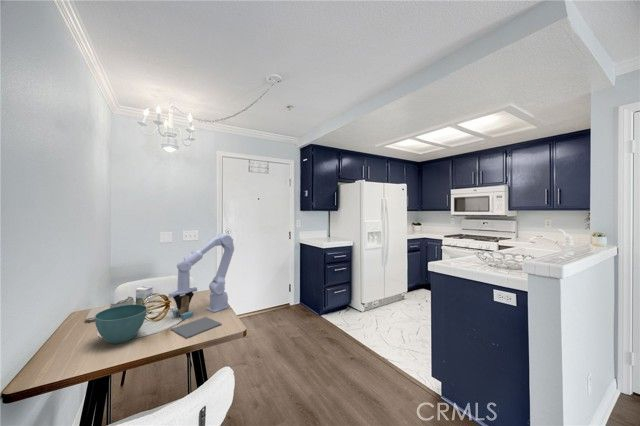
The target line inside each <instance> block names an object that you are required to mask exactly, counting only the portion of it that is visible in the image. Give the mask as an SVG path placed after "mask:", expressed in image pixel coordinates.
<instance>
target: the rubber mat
mask: <svg viewBox="0 0 640 426" xmlns="http://www.w3.org/2000/svg"><path fill="white" fill-rule="evenodd" d="M220 326H222V322H219V321H216V320H214V319H212V318H209V317H207V316H205V317H202V318H198V319H196V320H193V321H189V322H187V323H184V324H181V325H178V326H175V327H172V328H170V331H172V332H174V333H175V334H177V335H179V336H181V337H183V338H184V339H190V338H191V337H194V336H196V335H200V334H201V333H204V332H207V331H210V330H212V329H214V328H217V327H220Z"/></svg>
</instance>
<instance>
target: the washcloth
mask: <svg viewBox="0 0 640 426" xmlns="http://www.w3.org/2000/svg"><path fill="white" fill-rule="evenodd" d="M109 308H110V305H108V306H104V307H102V306H101V307H95V308H91V309H89V311H88V314H87V315H86V317H85V319H84V320H85V321H84V323H85V324H87V323H95V315H96V314H97V313H99V312H101V311H103V310H106V309H109Z"/></svg>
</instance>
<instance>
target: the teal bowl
mask: <svg viewBox="0 0 640 426" xmlns="http://www.w3.org/2000/svg"><path fill="white" fill-rule="evenodd" d="M146 312H147V307H146V306H144V305H137V304H136V303H133V304H132V305H123V306H117V307H112V308H109V309H106V310H103V311H101V312H99V313H97V314H96V315H95V322H94V323H95V327H96V330H97V332H98V334H99V335H100V337H102V338H103V339H104V340H105V341H106V342H107V343H108V344H109V343H110V344H112V345H116V344H117V345H118V344H123V343H125V342H129V341H130V340H132V339H133V338H134V337H135V336H136V335H137V333H138V332H139V331H140V330H141V328H142V326H143V324H144V322H145V319H146V316H147V315H146Z"/></svg>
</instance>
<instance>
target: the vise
mask: <svg viewBox="0 0 640 426" xmlns="http://www.w3.org/2000/svg"><path fill="white" fill-rule="evenodd" d="M169 311H172V316H174V317H178V316H180V319H181V320H182V319H183V320H182V321H185V320H188V319H191V318H194V312H193V311H191V310H189V312H185V313H182V314H181V315H180V314H178V313H177V311H178V309H177V306H175V307H171V308H169Z"/></svg>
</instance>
